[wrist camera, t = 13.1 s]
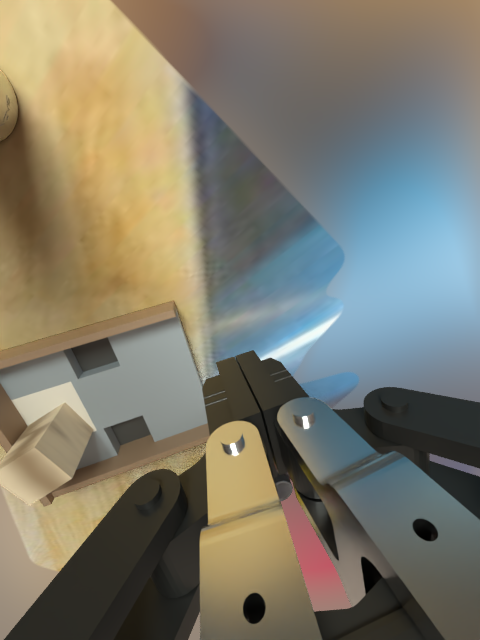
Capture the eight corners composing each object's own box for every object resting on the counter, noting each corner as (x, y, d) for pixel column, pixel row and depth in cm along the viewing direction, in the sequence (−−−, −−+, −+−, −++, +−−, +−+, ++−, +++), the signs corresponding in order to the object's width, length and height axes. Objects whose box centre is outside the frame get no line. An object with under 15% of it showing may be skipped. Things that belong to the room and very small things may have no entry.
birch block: (59, 450, 41) (29, 506, 33) (29, 424, 39) (-12, 476, 31) (93, 429, 41) (72, 478, 33) (65, 402, 39) (34, 447, 31)
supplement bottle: (278, 444, 53) (303, 496, 43) (251, 458, 53) (269, 514, 42) (268, 422, 51) (292, 470, 41) (240, 436, 51) (256, 489, 40)
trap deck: (62, 470, 45) (44, 506, 39) (-11, 354, 38) (-47, 376, 31) (213, 416, 48) (218, 442, 42) (173, 300, 41) (173, 311, 35)
